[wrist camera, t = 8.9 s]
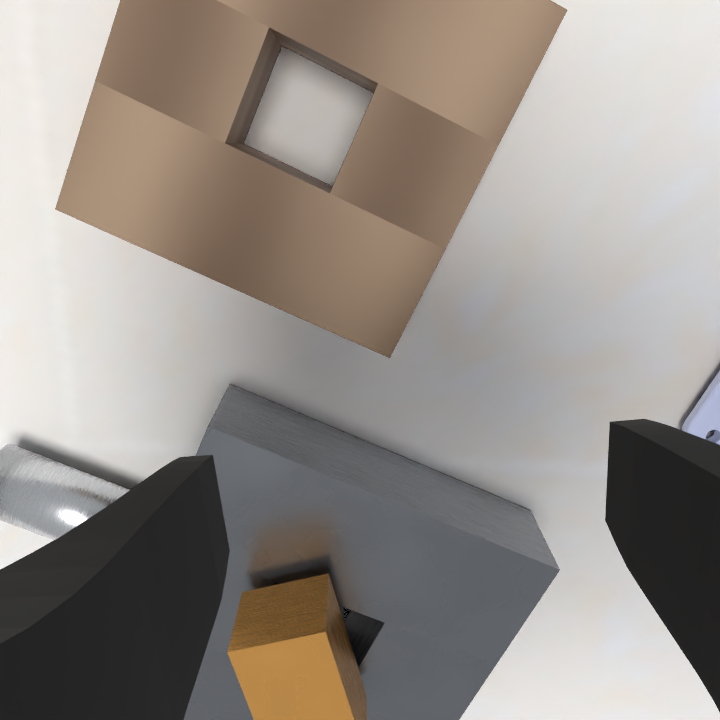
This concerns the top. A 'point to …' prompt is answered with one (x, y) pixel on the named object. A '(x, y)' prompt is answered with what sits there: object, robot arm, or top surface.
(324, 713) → the orange wooden block
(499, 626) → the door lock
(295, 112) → the top surface
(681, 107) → the top surface
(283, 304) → the holder
